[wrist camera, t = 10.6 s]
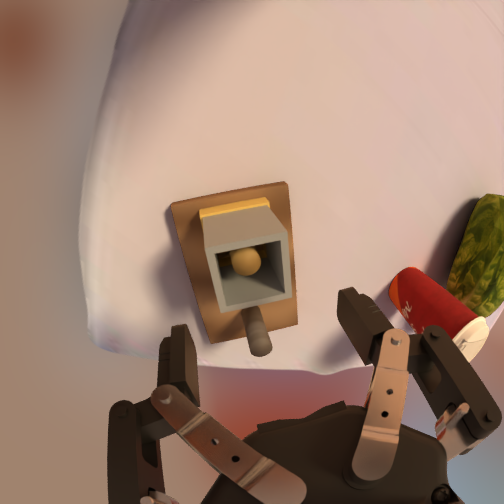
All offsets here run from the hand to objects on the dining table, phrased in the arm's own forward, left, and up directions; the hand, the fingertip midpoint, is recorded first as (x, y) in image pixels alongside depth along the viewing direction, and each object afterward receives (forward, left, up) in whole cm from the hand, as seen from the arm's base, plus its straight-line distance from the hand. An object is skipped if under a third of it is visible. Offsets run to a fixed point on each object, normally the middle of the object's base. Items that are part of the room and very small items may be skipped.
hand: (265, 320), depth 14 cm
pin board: (+5, 0, -13) cm, 14 cm away
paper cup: (+13, +21, -13) cm, 28 cm away
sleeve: (0, 0, -12) cm, 12 cm away
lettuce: (+10, +33, -13) cm, 37 cm away
